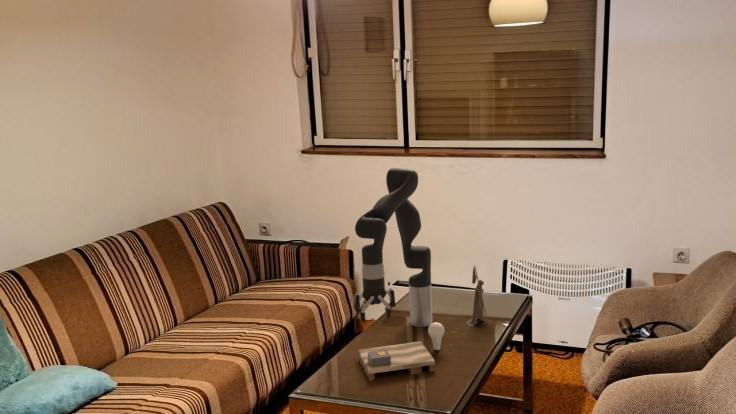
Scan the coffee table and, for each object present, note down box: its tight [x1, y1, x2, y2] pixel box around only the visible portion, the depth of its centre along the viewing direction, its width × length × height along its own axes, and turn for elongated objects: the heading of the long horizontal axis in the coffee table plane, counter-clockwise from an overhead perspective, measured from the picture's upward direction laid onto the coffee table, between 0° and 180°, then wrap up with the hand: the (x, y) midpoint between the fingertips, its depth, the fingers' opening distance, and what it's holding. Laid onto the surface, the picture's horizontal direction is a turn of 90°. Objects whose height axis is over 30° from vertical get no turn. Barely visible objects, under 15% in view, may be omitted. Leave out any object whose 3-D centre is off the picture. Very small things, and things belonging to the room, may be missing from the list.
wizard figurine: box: [466, 265, 489, 327], centre depth 293 cm, size 10×8×25 cm
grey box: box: [368, 350, 391, 367], centre depth 254 cm, size 6×7×3 cm
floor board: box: [358, 340, 436, 381], centre depth 260 cm, size 18×24×4 cm
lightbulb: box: [427, 321, 445, 351], centre depth 270 cm, size 6×6×11 cm
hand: (375, 320), depth 247 cm, fingers open, 8 cm apart
